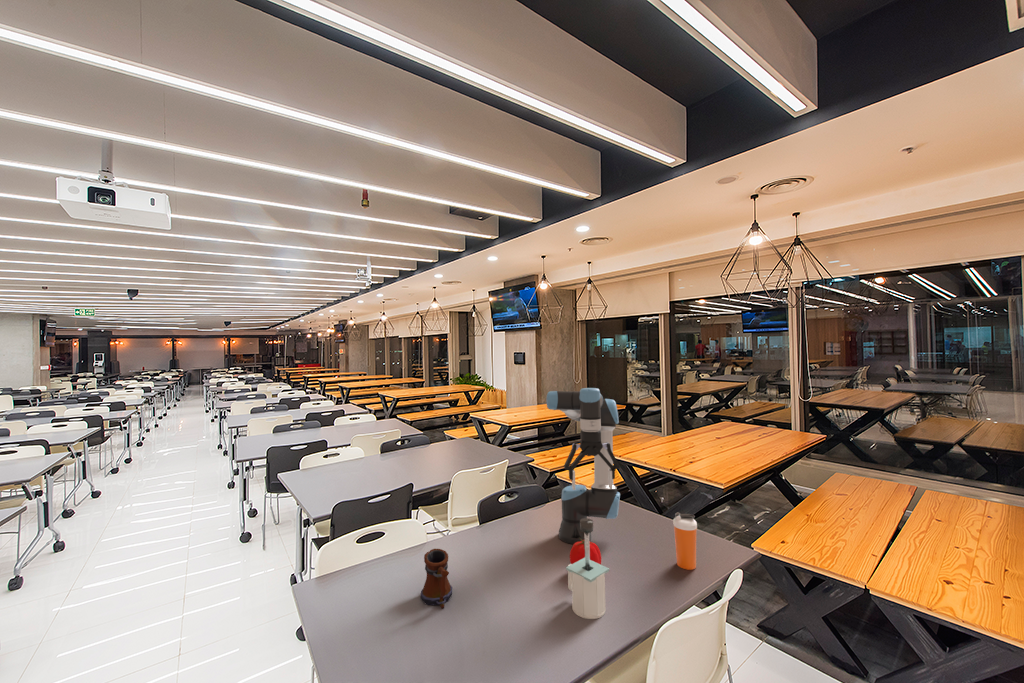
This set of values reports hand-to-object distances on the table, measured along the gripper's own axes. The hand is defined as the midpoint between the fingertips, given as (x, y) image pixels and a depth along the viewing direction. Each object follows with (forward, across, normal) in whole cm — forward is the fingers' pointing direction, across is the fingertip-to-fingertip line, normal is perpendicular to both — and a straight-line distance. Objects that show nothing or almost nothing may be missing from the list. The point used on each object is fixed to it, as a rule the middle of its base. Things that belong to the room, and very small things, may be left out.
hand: (592, 488), depth 148 cm
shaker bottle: (+36, +40, +15) cm, 56 cm away
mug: (+36, -56, -5) cm, 67 cm away
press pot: (+36, -5, -10) cm, 38 cm away
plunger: (+26, -5, -11) cm, 28 cm away
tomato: (+36, -1, +10) cm, 38 cm away
